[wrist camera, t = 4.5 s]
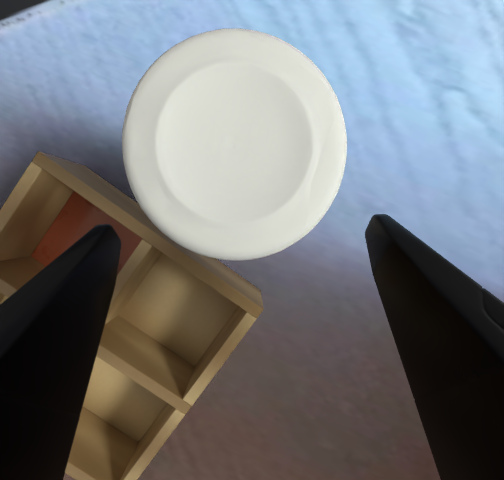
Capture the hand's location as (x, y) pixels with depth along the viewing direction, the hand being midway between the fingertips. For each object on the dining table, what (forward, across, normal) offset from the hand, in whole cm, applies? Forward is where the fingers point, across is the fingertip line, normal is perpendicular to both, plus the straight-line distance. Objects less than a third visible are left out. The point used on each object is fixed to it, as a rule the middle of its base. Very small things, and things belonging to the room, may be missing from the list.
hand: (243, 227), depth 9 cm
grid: (+2, +10, +11) cm, 15 cm away
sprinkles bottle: (+8, 0, +6) cm, 10 cm away
